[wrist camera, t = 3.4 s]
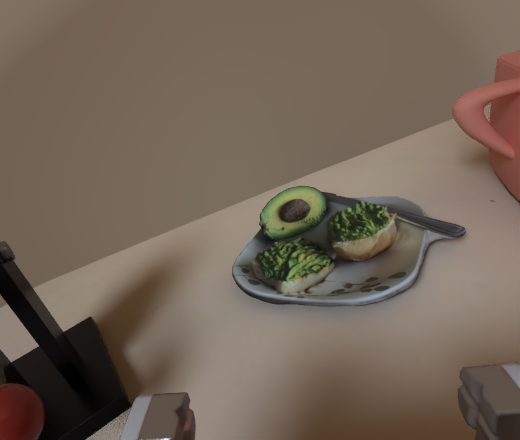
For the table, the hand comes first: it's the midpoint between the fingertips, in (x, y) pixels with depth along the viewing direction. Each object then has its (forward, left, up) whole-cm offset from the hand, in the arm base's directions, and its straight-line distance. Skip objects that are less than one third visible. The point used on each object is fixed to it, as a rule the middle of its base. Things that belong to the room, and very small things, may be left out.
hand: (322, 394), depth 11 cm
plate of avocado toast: (+23, +3, -10) cm, 25 cm away
